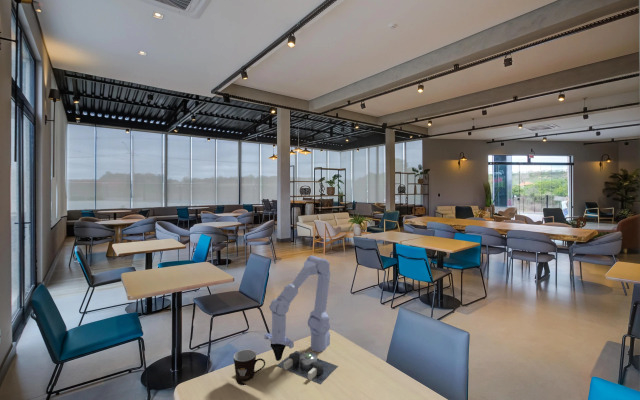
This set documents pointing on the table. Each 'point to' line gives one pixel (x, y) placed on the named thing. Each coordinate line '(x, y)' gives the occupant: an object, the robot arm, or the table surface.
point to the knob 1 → (291, 360)
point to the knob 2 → (315, 370)
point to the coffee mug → (245, 365)
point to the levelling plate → (305, 372)
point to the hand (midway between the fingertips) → (278, 359)
